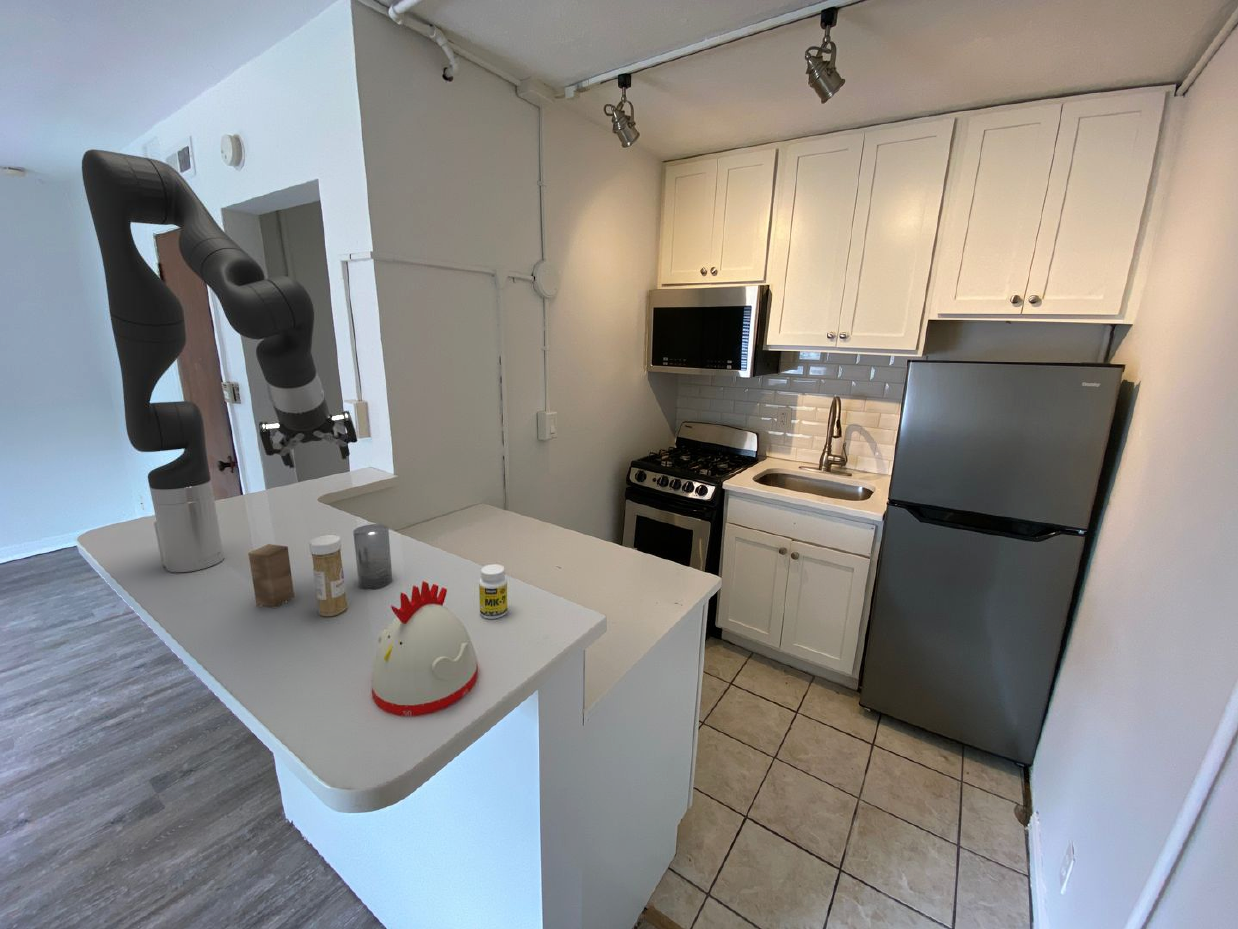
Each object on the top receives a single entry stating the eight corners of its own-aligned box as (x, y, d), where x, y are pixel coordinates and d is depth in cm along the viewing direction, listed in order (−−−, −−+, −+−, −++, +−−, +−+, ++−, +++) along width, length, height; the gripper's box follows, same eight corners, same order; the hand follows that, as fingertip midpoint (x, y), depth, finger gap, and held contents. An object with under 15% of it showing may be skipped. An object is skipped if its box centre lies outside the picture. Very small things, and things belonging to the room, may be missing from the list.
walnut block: (256, 605, 88) (248, 552, 85) (276, 594, 92) (268, 544, 89) (275, 608, 87) (267, 555, 85) (294, 597, 91) (287, 546, 88)
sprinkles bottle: (349, 613, 86) (341, 541, 83) (318, 620, 84) (309, 546, 81) (346, 601, 90) (338, 532, 87) (317, 608, 87) (308, 537, 84)
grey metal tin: (351, 587, 95) (345, 533, 92) (372, 573, 101) (368, 522, 98) (378, 591, 94) (374, 537, 91) (399, 577, 100) (395, 526, 97)
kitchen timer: (351, 689, 68) (340, 589, 64) (434, 640, 80) (429, 554, 76) (416, 732, 61) (408, 623, 57) (497, 672, 73) (495, 578, 69)
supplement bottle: (483, 622, 85) (481, 577, 83) (477, 609, 89) (475, 566, 87) (510, 616, 87) (509, 572, 85) (503, 603, 91) (502, 561, 89)
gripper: (343, 376, 86) (357, 439, 98) (244, 385, 80) (272, 452, 92) (349, 405, 83) (363, 467, 94) (246, 417, 76) (275, 483, 88)
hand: (318, 460), depth 93 cm, fingers open, 8 cm apart
